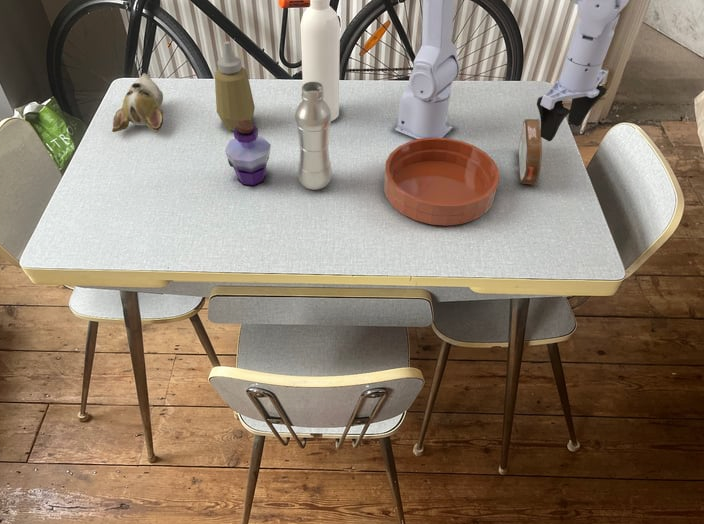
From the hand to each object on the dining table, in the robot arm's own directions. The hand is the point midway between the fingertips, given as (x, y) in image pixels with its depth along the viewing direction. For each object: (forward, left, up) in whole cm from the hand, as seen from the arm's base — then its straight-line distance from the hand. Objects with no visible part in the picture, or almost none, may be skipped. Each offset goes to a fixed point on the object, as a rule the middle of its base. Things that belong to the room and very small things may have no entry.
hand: (560, 130), depth 103 cm
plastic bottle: (-34, -28, -10) cm, 45 cm away
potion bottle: (-45, -34, -10) cm, 58 cm away
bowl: (-14, -16, -10) cm, 24 cm away
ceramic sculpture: (-77, -33, -10) cm, 85 cm away
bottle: (-48, -8, -10) cm, 50 cm away
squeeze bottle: (-60, -22, -10) cm, 65 cm away
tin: (-4, 0, -10) cm, 11 cm away
